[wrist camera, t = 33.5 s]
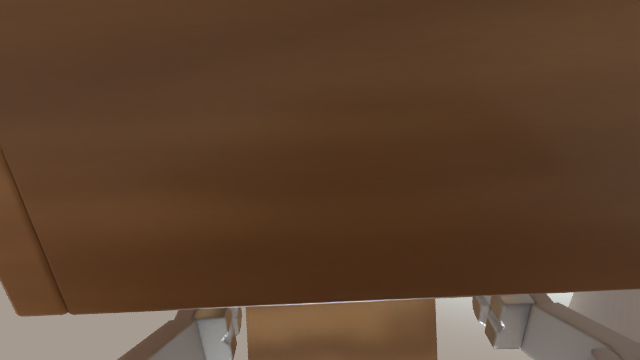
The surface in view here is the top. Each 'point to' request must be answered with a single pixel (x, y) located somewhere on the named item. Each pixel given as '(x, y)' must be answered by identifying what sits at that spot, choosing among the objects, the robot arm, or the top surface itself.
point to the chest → (315, 151)
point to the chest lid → (343, 331)
